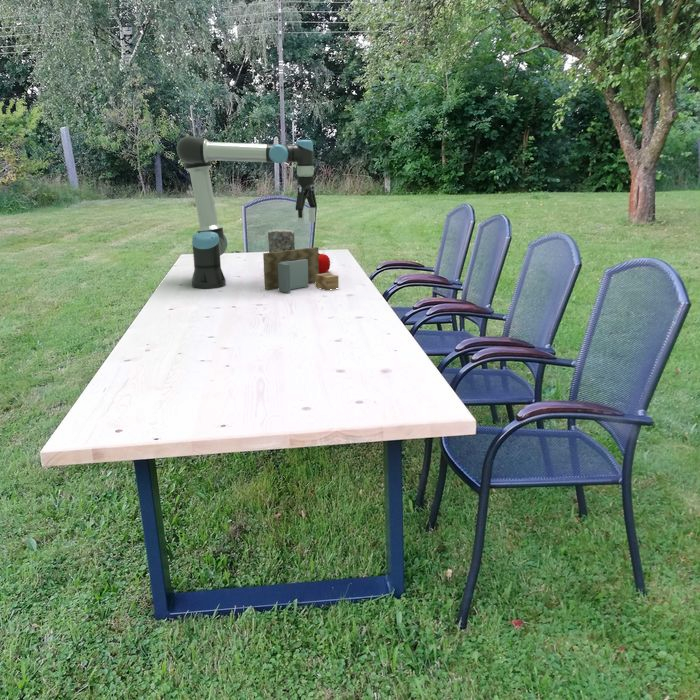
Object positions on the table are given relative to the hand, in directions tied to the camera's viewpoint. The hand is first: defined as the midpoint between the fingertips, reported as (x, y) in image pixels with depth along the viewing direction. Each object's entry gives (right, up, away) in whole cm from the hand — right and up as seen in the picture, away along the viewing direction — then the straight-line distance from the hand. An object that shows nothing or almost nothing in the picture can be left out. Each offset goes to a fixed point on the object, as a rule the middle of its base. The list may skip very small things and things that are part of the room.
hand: (306, 223), depth 291 cm
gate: (-4, -32, -14) cm, 35 cm away
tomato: (+4, -20, +23) cm, 31 cm away
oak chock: (+10, -31, -11) cm, 34 cm away
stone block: (-15, -17, +34) cm, 41 cm away
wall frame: (-5, -29, -5) cm, 30 cm away
